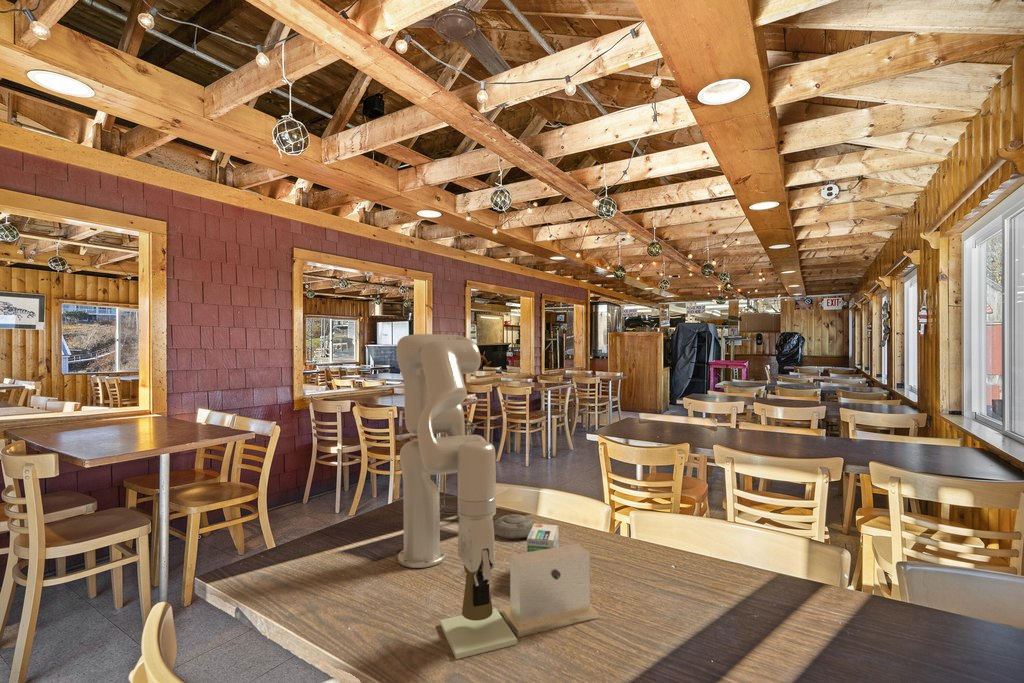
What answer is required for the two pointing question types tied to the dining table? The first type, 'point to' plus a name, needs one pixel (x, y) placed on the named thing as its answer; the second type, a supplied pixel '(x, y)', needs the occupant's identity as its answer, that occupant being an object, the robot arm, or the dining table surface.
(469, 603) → the brown pawn
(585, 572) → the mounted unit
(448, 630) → the mat
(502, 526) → the flying saucer
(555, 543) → the light bulb box
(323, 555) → the dining table surface
